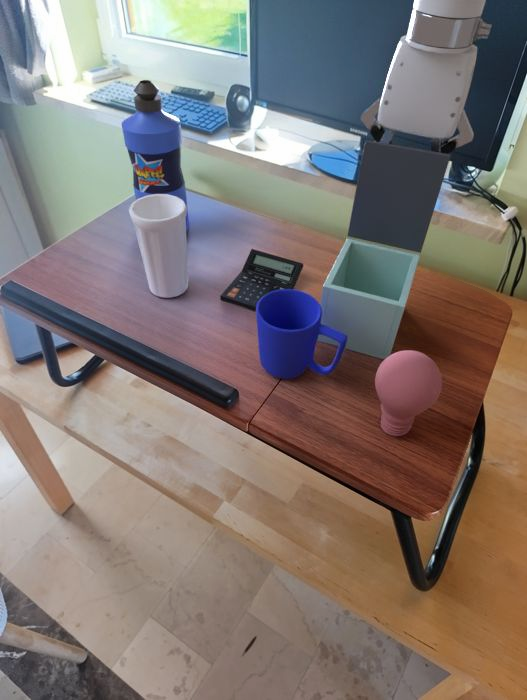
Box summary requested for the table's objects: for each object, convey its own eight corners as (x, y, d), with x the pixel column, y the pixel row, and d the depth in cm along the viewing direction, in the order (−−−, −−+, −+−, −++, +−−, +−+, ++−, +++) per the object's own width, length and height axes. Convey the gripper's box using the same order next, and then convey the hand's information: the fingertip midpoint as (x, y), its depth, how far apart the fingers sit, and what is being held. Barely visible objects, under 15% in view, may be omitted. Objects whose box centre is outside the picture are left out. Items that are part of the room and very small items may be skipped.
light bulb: (351, 415, 60) (369, 347, 51) (397, 397, 62) (421, 330, 54) (384, 459, 55) (409, 394, 47) (432, 439, 58) (465, 373, 49)
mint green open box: (388, 361, 67) (404, 307, 60) (315, 340, 69) (322, 286, 62) (403, 307, 75) (420, 254, 68) (338, 290, 78) (347, 237, 71)
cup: (167, 267, 81) (156, 188, 71) (204, 284, 78) (198, 204, 68) (133, 290, 76) (116, 209, 66) (171, 310, 73) (159, 228, 63)
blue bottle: (179, 243, 86) (162, 94, 69) (131, 236, 88) (103, 87, 70) (196, 218, 93) (184, 76, 75) (151, 211, 94) (130, 70, 76)
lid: (450, 156, 59) (454, 143, 62) (364, 141, 61) (373, 129, 65) (420, 253, 68) (425, 236, 71) (347, 236, 70) (355, 221, 74)
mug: (322, 408, 61) (333, 353, 53) (243, 370, 65) (243, 315, 58) (349, 368, 66) (361, 313, 59) (273, 335, 70) (277, 281, 63)
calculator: (220, 299, 75) (219, 284, 73) (252, 262, 83) (252, 247, 81) (274, 317, 73) (275, 302, 71) (302, 276, 80) (303, 262, 78)
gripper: (520, 33, 55) (465, 181, 68) (376, 13, 59) (350, 156, 72) (518, 50, 50) (459, 205, 63) (361, 26, 54) (336, 177, 67)
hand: (401, 178), depth 68 cm, fingers closed on lid, 5 cm apart
